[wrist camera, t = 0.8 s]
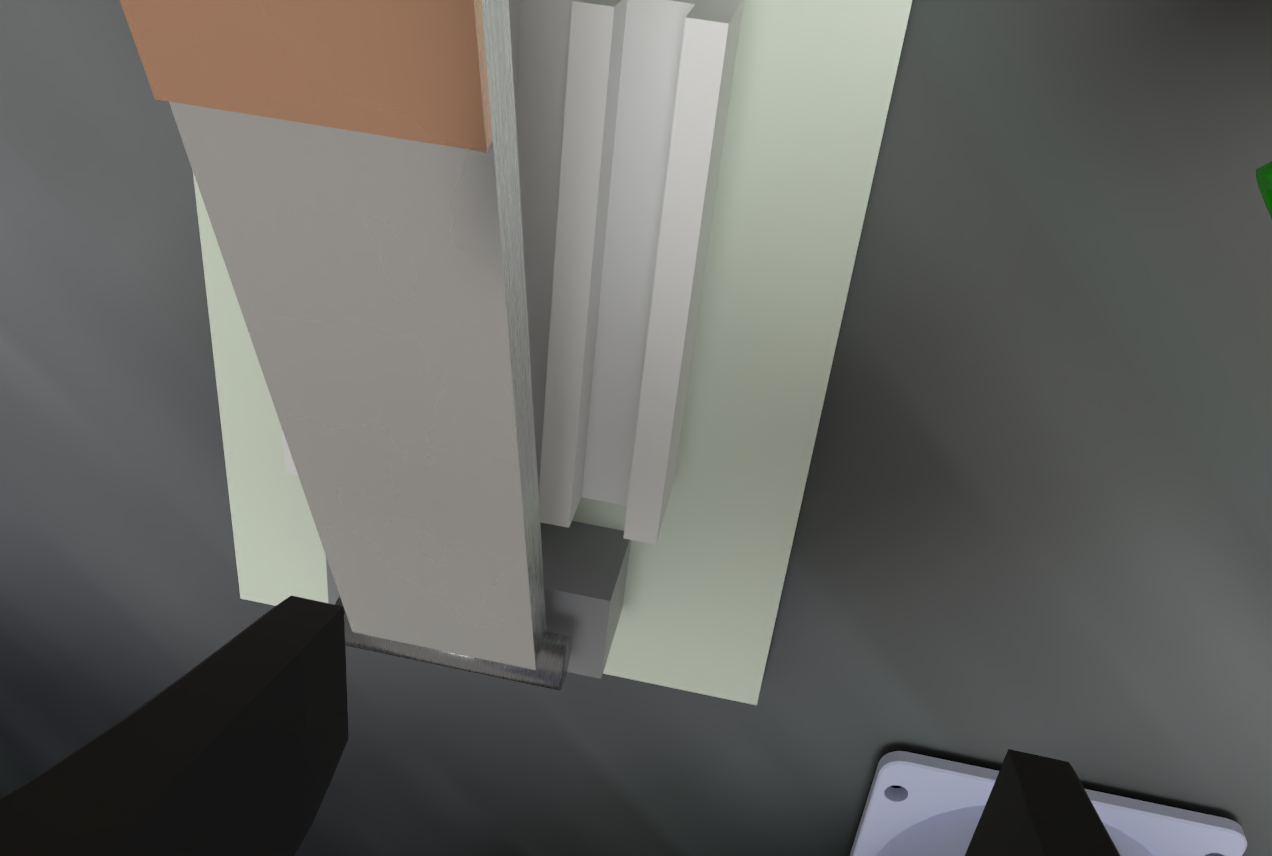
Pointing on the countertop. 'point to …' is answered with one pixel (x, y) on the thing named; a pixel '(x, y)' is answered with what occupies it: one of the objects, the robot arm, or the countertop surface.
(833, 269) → the board
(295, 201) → the strip
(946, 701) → the countertop surface
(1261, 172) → the mechanical component
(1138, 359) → the countertop surface
